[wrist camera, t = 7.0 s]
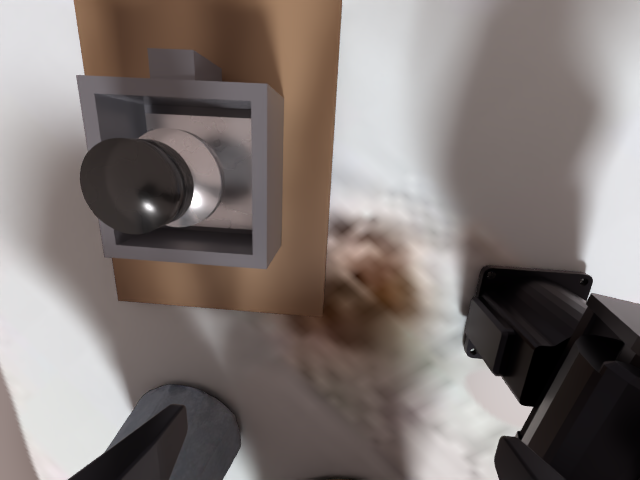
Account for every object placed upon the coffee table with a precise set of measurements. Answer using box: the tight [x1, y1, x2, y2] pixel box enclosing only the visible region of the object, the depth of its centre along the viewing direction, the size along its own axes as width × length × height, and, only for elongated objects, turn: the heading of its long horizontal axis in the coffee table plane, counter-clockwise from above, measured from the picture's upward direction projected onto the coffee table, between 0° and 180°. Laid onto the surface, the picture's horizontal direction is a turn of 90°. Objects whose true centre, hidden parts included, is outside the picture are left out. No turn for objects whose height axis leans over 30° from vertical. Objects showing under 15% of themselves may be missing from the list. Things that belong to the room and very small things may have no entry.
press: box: [76, 48, 284, 269], centre depth 16 cm, size 8×10×4 cm
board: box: [74, 0, 342, 317], centre depth 19 cm, size 14×18×1 cm
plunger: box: [80, 113, 252, 234], centre depth 14 cm, size 6×6×7 cm
